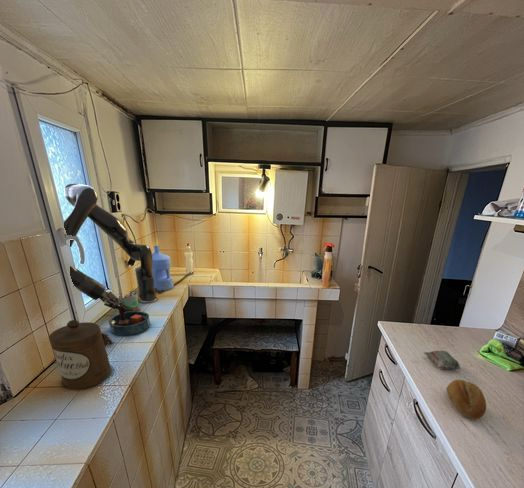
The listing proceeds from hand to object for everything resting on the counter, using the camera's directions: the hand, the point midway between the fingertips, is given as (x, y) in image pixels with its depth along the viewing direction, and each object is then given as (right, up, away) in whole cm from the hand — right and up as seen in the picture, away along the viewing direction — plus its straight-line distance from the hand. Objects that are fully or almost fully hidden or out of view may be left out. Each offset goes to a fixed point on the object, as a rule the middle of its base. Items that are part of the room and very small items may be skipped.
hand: (126, 309), depth 134 cm
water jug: (-4, +17, +58) cm, 60 cm away
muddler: (-2, -7, +2) cm, 7 cm away
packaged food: (+137, -23, -20) cm, 140 cm away
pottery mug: (-4, -17, -15) cm, 23 cm away
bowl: (+1, -9, +3) cm, 9 cm away
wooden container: (+2, -25, -33) cm, 41 cm away
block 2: (+3, -7, +5) cm, 9 cm away
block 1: (0, -9, -1) cm, 9 cm away
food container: (-5, 0, +21) cm, 21 cm away
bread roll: (+131, -33, -42) cm, 141 cm away
